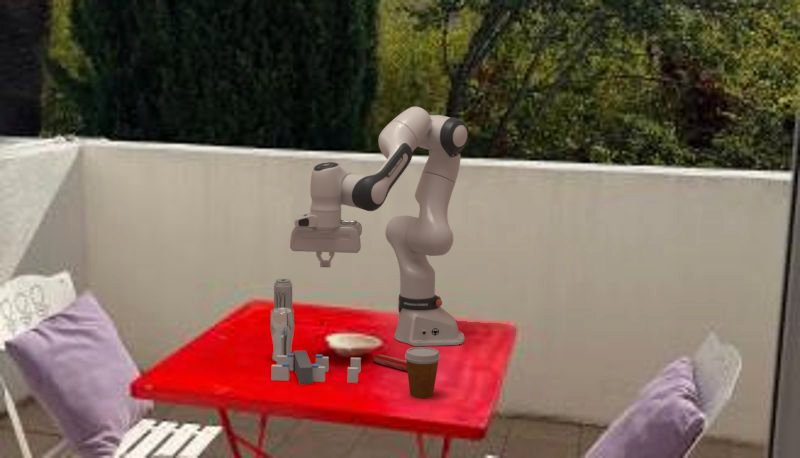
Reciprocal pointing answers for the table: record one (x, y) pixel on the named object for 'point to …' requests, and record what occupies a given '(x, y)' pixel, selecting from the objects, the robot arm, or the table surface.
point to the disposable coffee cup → (422, 370)
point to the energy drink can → (283, 294)
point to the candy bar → (390, 362)
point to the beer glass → (282, 331)
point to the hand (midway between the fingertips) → (325, 266)
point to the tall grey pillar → (303, 367)
